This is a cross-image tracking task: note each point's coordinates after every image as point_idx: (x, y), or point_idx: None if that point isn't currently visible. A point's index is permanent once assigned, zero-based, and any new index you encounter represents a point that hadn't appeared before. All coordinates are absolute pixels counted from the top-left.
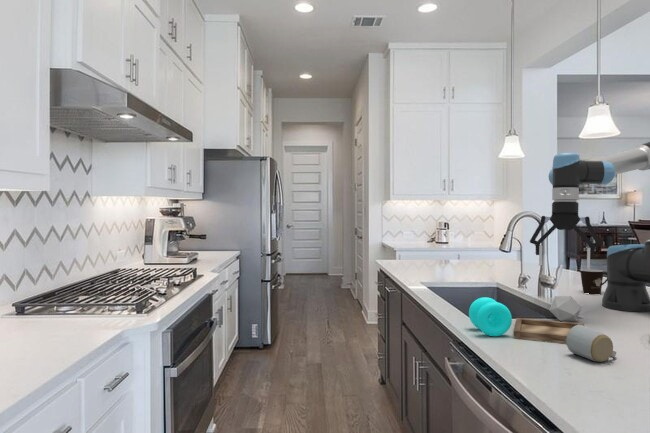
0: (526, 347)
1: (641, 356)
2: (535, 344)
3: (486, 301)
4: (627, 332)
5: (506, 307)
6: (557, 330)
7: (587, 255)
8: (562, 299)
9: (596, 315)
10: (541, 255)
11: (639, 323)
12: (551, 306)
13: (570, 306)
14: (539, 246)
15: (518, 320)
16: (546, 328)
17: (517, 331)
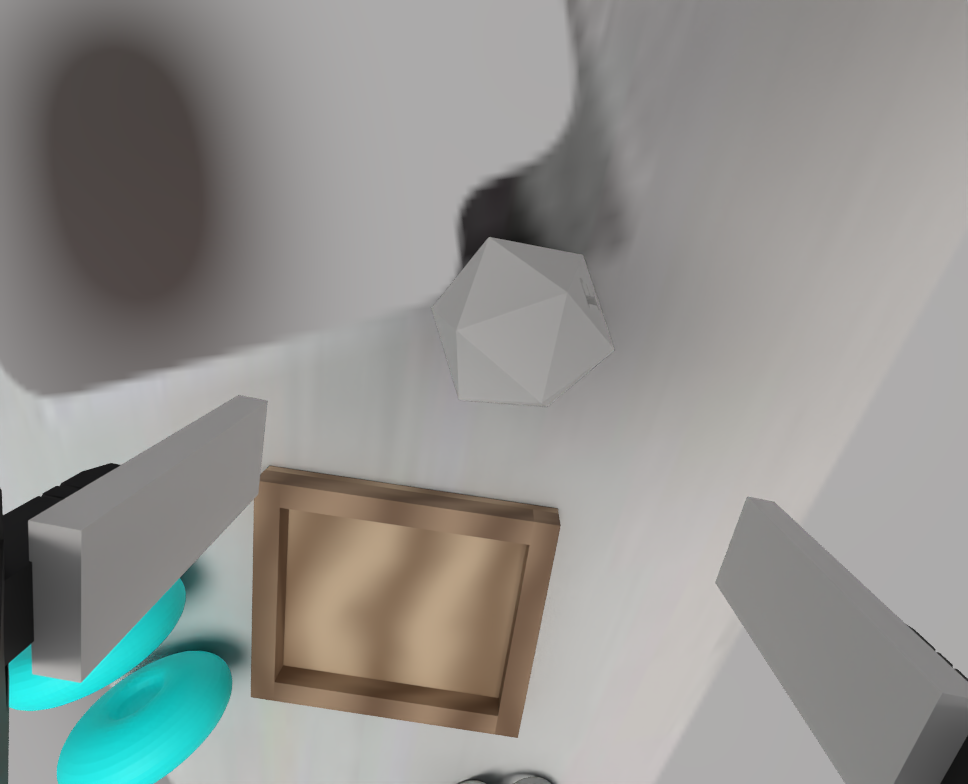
0: (307, 758)
1: (648, 777)
2: (337, 724)
3: (53, 707)
4: (744, 498)
5: (167, 767)
6: (435, 570)
7: (796, 705)
8: (495, 378)
9: (741, 129)
10: (188, 563)
11: (903, 296)
12: (439, 321)
13: (535, 404)
14: (46, 662)
15: (265, 532)
16: (392, 549)
17: (265, 698)
